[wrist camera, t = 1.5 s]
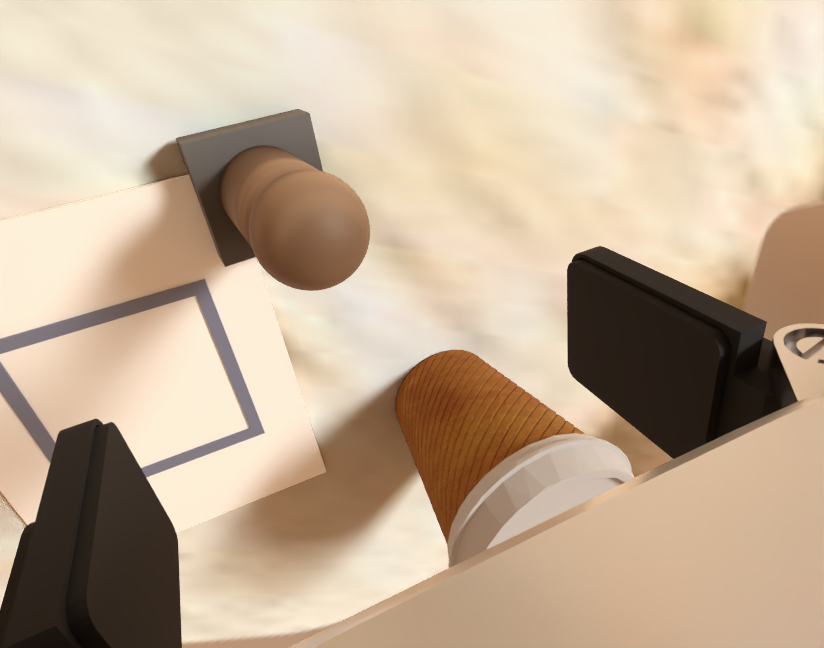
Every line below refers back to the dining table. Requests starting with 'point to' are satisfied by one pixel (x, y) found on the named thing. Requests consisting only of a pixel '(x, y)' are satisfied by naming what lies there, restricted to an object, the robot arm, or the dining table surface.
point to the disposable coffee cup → (496, 453)
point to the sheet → (146, 353)
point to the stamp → (277, 201)
